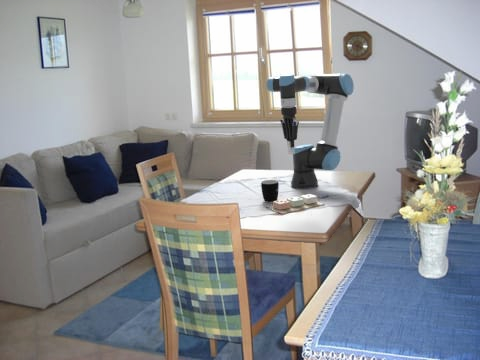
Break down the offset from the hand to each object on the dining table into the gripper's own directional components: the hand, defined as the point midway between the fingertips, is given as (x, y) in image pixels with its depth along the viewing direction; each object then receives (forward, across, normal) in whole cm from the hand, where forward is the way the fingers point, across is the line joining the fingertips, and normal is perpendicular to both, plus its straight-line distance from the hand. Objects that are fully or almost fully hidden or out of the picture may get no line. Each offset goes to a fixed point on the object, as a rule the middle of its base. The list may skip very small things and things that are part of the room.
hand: (291, 153), depth 282 cm
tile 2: (+24, +8, -5) cm, 26 cm away
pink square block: (+24, +8, -13) cm, 28 cm away
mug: (+25, -10, -8) cm, 28 cm away
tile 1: (+24, +8, +3) cm, 26 cm away
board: (+25, +8, -5) cm, 27 cm away
